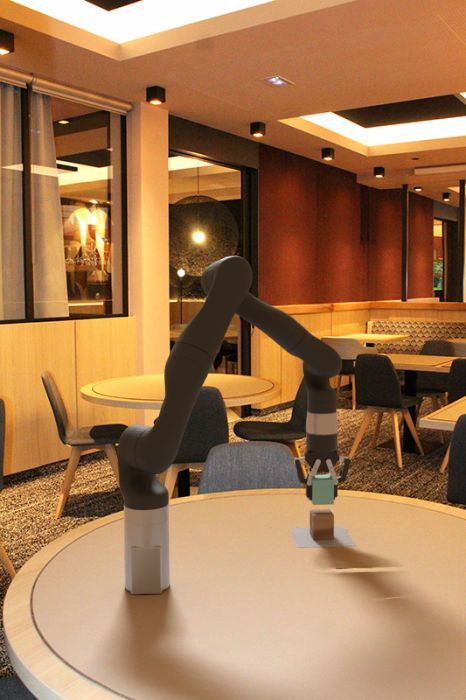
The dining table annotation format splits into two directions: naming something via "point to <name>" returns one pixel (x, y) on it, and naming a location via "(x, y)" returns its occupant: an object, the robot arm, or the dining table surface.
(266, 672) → the dining table surface
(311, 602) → the dining table surface
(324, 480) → the teal brick
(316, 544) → the plate
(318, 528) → the walnut brick
